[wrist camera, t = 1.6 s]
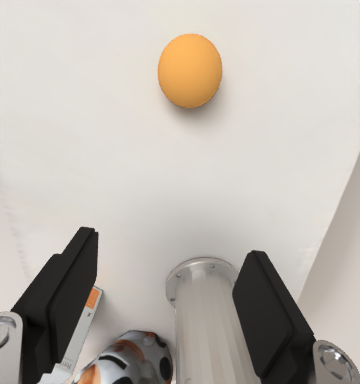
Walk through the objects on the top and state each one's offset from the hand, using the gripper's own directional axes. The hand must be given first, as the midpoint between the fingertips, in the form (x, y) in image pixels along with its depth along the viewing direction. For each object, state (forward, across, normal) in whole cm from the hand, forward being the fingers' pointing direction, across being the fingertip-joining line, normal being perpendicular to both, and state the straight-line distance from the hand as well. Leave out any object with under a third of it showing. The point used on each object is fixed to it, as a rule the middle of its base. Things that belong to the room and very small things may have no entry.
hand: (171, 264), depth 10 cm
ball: (+15, 0, -10) cm, 18 cm away
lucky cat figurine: (+18, +1, +39) cm, 43 cm away
